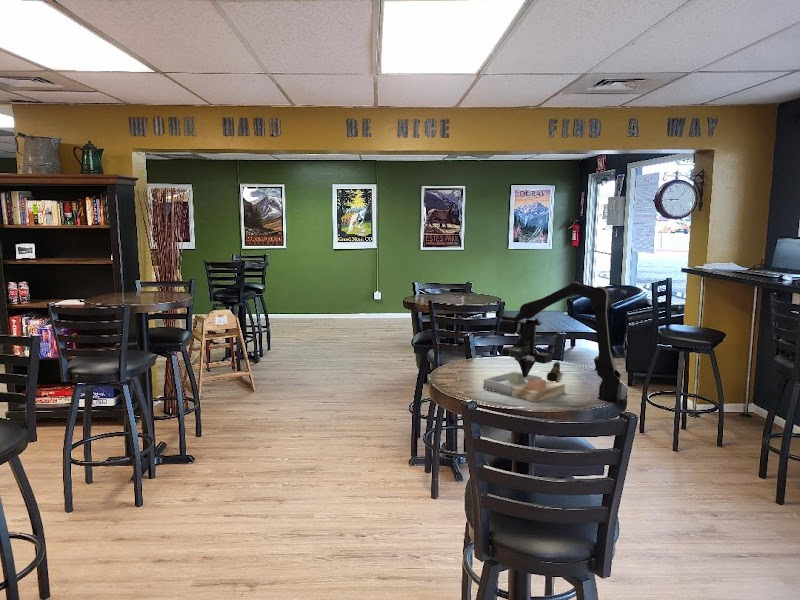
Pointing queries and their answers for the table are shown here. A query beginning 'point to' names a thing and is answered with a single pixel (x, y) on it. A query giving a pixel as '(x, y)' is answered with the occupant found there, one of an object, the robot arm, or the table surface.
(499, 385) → the tray
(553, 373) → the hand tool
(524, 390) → the birch board
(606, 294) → the robot arm
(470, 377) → the table surface
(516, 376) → the sage block
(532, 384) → the terracotta block
